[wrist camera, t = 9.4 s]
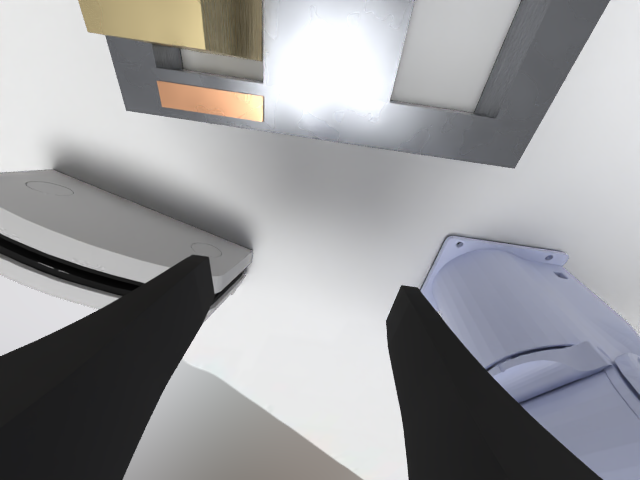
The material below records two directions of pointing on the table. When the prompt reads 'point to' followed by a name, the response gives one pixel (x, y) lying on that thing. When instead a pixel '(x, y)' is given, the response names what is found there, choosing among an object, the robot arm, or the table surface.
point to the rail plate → (366, 79)
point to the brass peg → (182, 24)
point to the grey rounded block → (98, 241)
